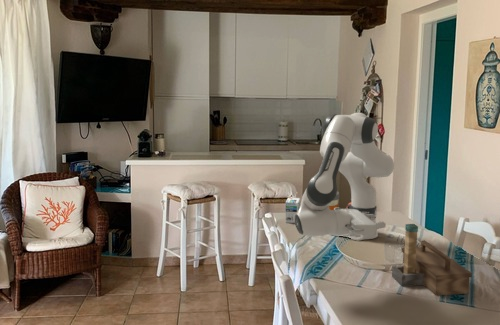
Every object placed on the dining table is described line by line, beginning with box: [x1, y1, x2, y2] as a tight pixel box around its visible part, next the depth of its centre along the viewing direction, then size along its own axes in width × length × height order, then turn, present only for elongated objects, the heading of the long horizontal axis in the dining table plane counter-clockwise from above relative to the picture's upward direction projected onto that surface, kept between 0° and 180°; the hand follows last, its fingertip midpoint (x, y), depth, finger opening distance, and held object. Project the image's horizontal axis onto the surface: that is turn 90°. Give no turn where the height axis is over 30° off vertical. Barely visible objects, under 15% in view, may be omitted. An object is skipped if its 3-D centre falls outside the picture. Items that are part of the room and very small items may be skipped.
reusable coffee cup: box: [329, 190, 340, 210], centre depth 253 cm, size 13×12×15 cm
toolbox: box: [391, 240, 473, 296], centre depth 181 cm, size 21×27×12 cm
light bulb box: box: [285, 196, 301, 224], centre depth 255 cm, size 11×7×11 cm, turn 168°
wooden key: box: [403, 223, 419, 274], centre depth 180 cm, size 4×4×21 cm
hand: (379, 220), depth 176 cm, fingers open, 8 cm apart
